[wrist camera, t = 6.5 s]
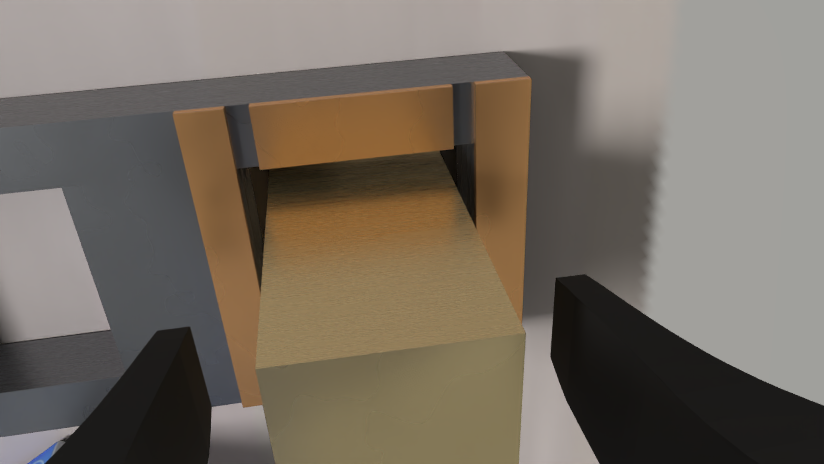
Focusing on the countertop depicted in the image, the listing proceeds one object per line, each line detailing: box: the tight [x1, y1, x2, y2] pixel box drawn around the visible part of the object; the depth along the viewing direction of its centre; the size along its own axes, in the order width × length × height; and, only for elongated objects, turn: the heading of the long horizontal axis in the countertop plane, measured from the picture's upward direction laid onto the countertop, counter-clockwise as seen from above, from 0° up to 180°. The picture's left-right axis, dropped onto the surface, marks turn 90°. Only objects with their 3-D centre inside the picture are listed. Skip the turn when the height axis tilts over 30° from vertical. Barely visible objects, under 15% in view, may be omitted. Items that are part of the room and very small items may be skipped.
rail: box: [0, 52, 532, 437], centre depth 16 cm, size 8×16×2 cm, turn 94°
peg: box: [255, 151, 526, 464], centre depth 14 cm, size 4×4×8 cm
